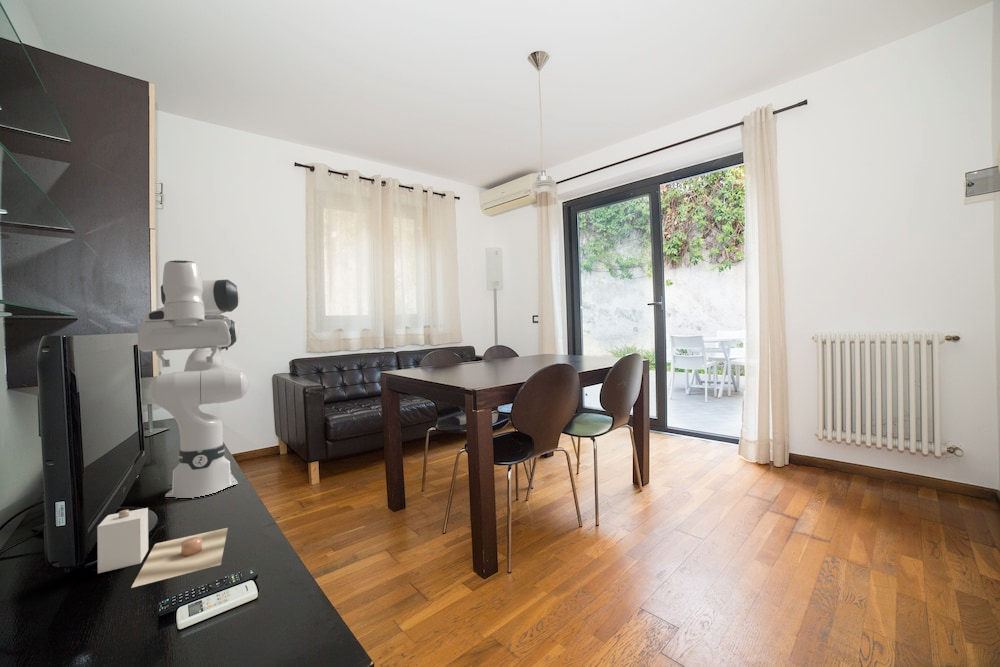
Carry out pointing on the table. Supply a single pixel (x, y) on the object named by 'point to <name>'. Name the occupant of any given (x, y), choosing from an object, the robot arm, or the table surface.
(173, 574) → the mat
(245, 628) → the table surface
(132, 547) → the tall white canister
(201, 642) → the table surface
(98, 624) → the table surface
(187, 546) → the egg
